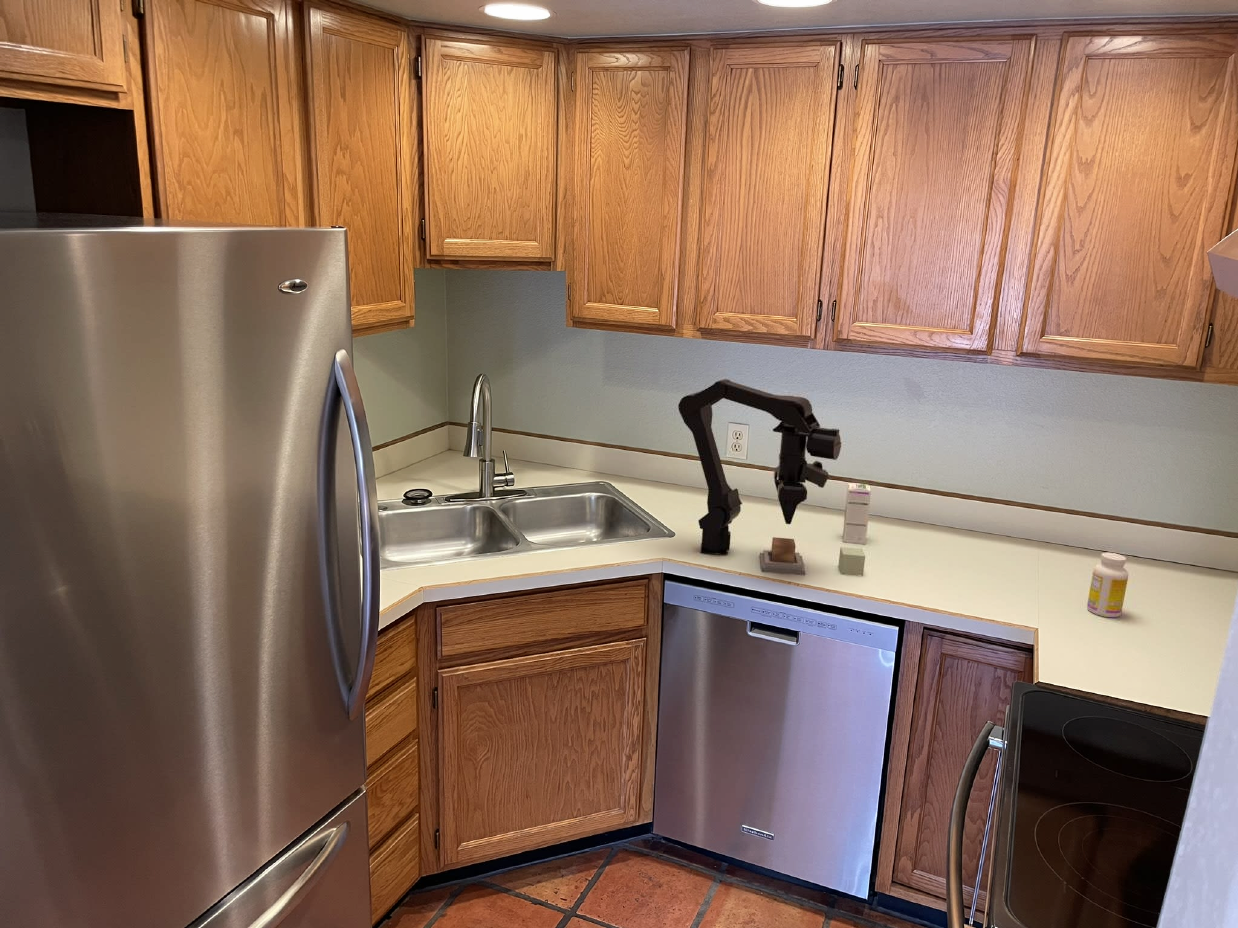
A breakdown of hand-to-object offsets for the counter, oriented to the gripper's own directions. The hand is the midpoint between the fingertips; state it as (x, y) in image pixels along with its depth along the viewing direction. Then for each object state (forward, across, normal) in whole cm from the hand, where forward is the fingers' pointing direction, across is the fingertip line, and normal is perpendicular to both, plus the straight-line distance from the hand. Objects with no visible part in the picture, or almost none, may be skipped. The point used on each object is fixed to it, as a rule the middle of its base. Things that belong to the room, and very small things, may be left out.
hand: (786, 517), depth 213 cm
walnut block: (+11, 0, 0) cm, 11 cm away
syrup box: (+12, +23, -20) cm, 33 cm away
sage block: (+12, 0, -16) cm, 20 cm away
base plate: (+12, 0, 0) cm, 12 cm away
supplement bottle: (+12, -13, -68) cm, 70 cm away
